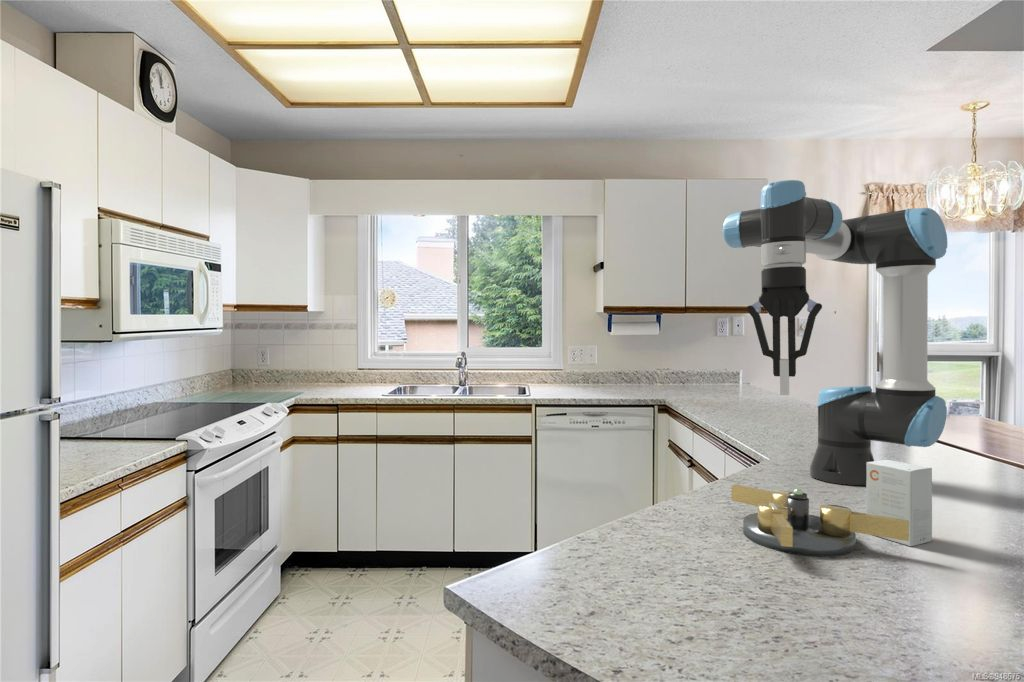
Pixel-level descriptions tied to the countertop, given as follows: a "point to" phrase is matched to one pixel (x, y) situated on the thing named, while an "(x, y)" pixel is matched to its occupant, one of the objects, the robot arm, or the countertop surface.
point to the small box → (901, 496)
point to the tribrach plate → (801, 531)
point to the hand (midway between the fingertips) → (784, 394)
